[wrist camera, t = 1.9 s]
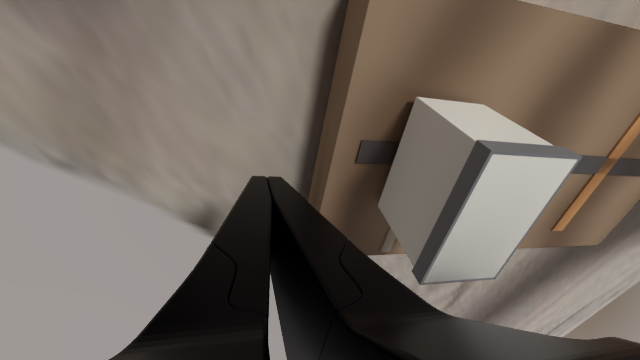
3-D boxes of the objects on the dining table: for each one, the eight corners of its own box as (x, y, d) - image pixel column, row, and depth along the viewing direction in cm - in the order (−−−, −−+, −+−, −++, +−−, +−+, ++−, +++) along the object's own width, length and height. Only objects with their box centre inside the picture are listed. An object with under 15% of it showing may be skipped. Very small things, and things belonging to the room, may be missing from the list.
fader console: (713, 50, 16) (767, 60, 15) (573, 224, 23) (600, 246, 21) (355, -36, 11) (378, -34, 9) (301, 229, 17) (309, 259, 15)
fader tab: (487, 102, 12) (582, 156, 9) (436, 207, 15) (495, 279, 12) (414, 93, 11) (491, 150, 8) (375, 207, 14) (419, 284, 11)
